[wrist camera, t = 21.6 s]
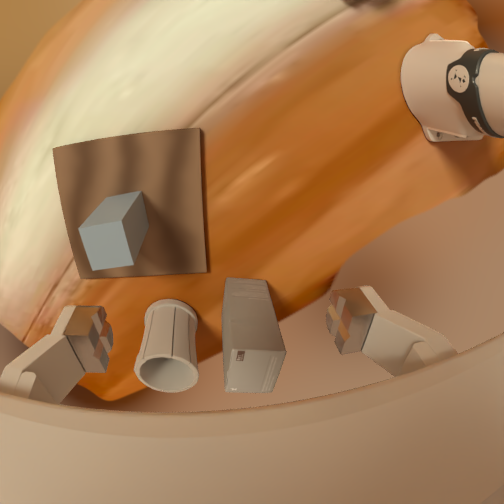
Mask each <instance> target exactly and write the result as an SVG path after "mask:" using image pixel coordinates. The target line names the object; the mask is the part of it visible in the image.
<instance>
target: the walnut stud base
mask: <svg viewBox="0 0 504 504" xmlns="http://www.w3.org/2000/svg"><path fill="white" fill-rule="evenodd" d="M53 157H54V164H55V171H56V178H57V184H58V190H59V195H60V200H61V205H62V210H63V215H64V219H65V224H66V228H67V232H68V236H69V240H70V244H71V248H72V251H73V255H74V259H75V262H76V265H77V269H78V272H79V275H80V278H81V279H87V278H110V277H131V276H151V275H170V274H187V273H204V272H207V266H206V253H205V238H204V222H203V204H202V183H201V156H200V128H191V129H177V130H165V131H154V132H145V133H137V134H129V135H122V136H115V137H108V138H102V139H96V140H90V141H85V142H80V143H75V144H70V145H65V146H60V147H56V148H53ZM136 191H142V196H143V200H144V205H145V210H146V214H147V219H148V223H149V228H148V230H147V233H146V235H145V238H144V240H143V243H142V245H141V248H140V250H139V253H138V255H137V258H136V261H135V263H134V265H130V266H123V267H116V268H108V269H101V270H94V271H93V270H92V268H91V265H90V262H89V259H88V257H87V254H86V251H85V248H84V245H83V242H82V239H81V236H80V232H79V229H78V228H79V227H80V226H81V225H82V224H83V223H84V221H85V220H86V219H87V218H88V217H89V216H90V215H91V214H92V212H93V211H94V210H95V209H96V208H97V207H98V206H99V205H100V204H101V203H102V202H103V201H104V199H105V198H106V197H111V196H116V195H121V194H126V193H131V192H136Z"/></svg>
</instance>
